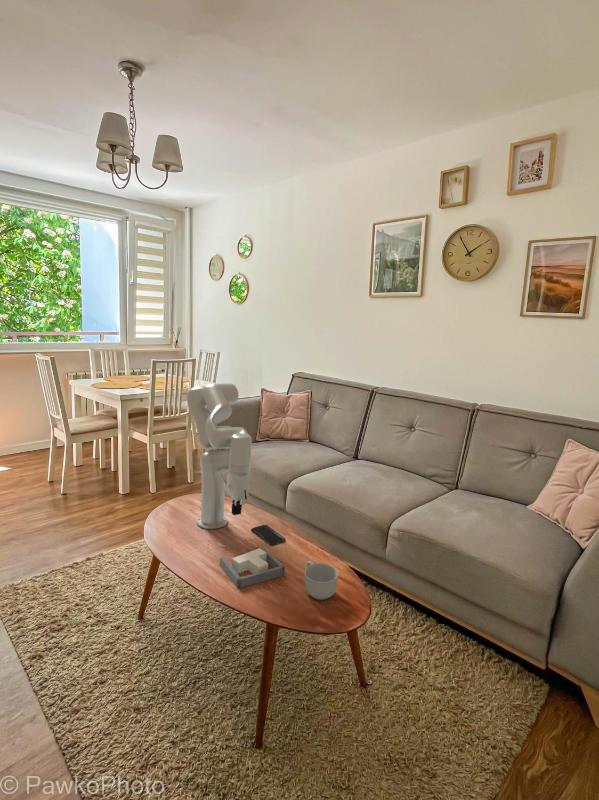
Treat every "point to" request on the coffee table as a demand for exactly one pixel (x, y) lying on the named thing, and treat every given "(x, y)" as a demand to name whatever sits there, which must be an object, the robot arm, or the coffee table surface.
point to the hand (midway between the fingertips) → (236, 513)
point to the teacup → (320, 580)
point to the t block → (250, 562)
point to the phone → (268, 534)
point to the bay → (256, 577)
